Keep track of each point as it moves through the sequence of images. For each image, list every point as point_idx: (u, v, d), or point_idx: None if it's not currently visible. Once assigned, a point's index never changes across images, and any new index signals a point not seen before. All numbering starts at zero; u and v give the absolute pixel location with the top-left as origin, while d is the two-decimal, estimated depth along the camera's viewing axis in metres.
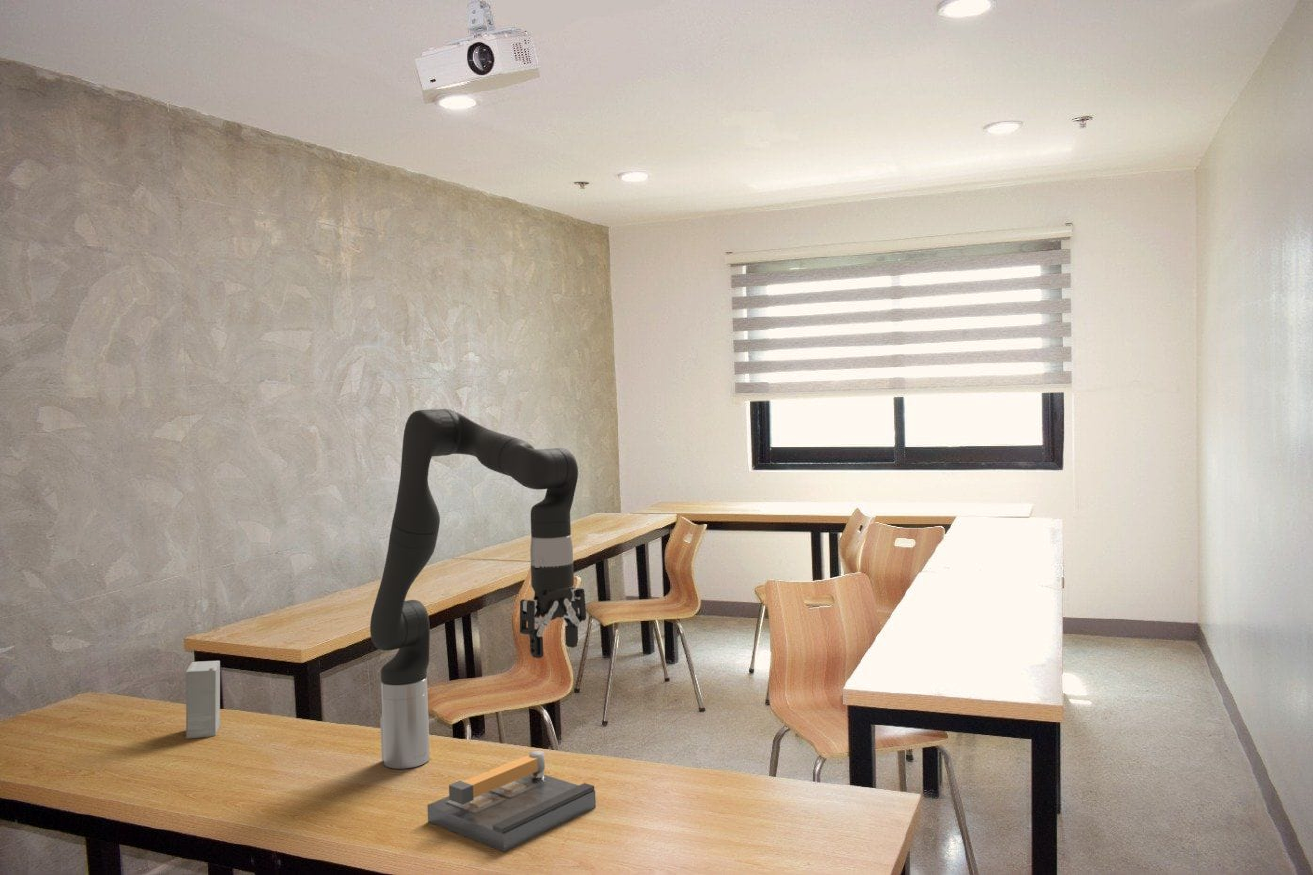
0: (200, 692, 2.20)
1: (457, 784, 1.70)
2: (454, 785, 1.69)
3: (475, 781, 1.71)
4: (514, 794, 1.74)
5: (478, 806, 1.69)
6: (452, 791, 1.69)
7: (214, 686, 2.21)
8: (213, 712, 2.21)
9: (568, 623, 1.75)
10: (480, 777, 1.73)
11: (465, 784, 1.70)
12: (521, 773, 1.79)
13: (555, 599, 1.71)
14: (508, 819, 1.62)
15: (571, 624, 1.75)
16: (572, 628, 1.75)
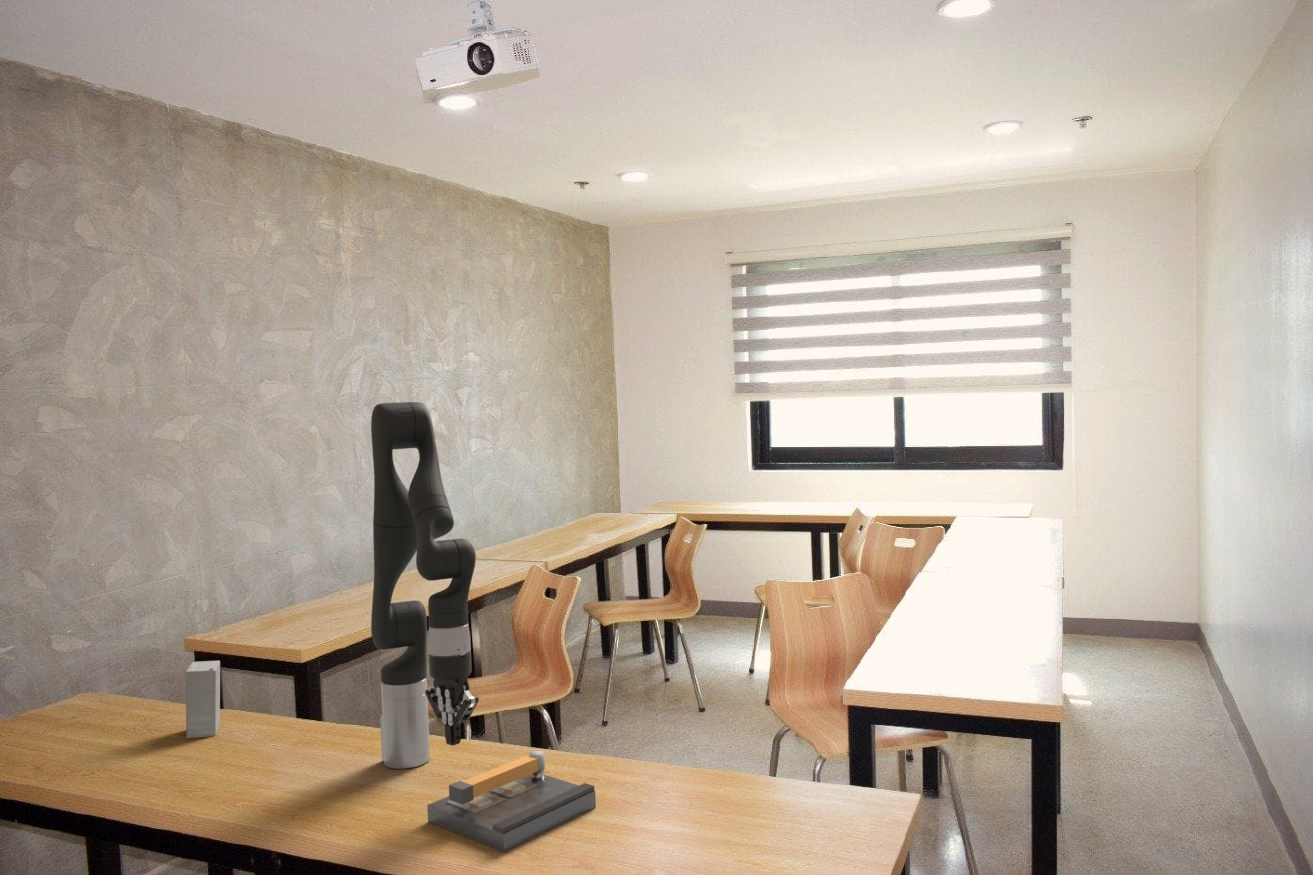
0: (200, 692, 2.20)
1: (457, 784, 1.70)
2: (454, 785, 1.69)
3: (475, 781, 1.71)
4: (514, 794, 1.74)
5: (478, 806, 1.69)
6: (452, 791, 1.69)
7: (214, 686, 2.21)
8: (213, 712, 2.21)
9: None
10: (480, 777, 1.73)
11: (465, 784, 1.70)
12: (521, 773, 1.79)
13: None
14: (508, 819, 1.62)
15: None
16: None
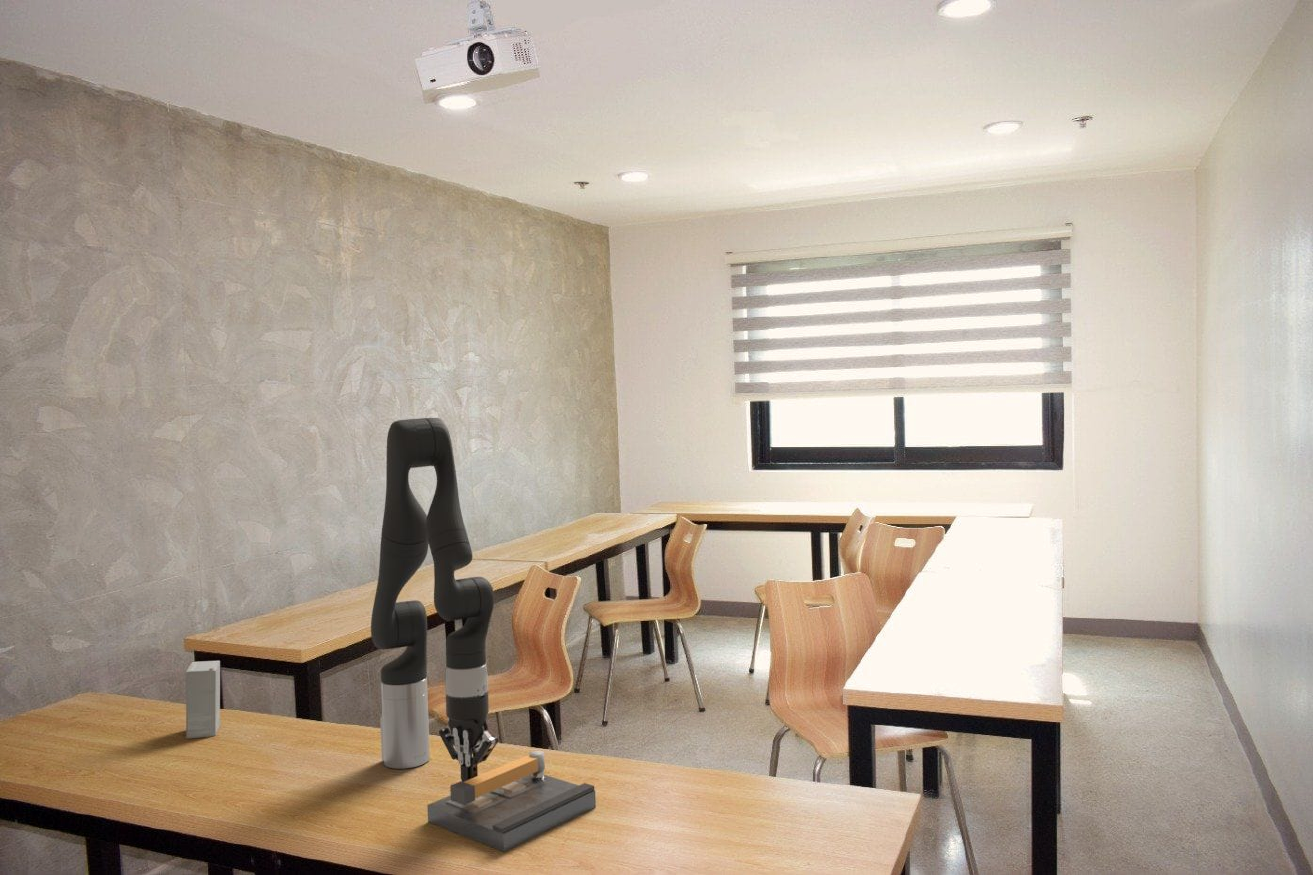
0: (200, 692, 2.20)
1: (458, 785, 1.69)
2: (455, 786, 1.69)
3: (476, 781, 1.71)
4: (514, 794, 1.74)
5: (478, 806, 1.69)
6: (454, 792, 1.69)
7: (214, 686, 2.21)
8: (213, 712, 2.21)
9: None
10: (481, 778, 1.73)
11: (466, 784, 1.69)
12: (522, 773, 1.78)
13: None
14: (508, 819, 1.62)
15: None
16: None
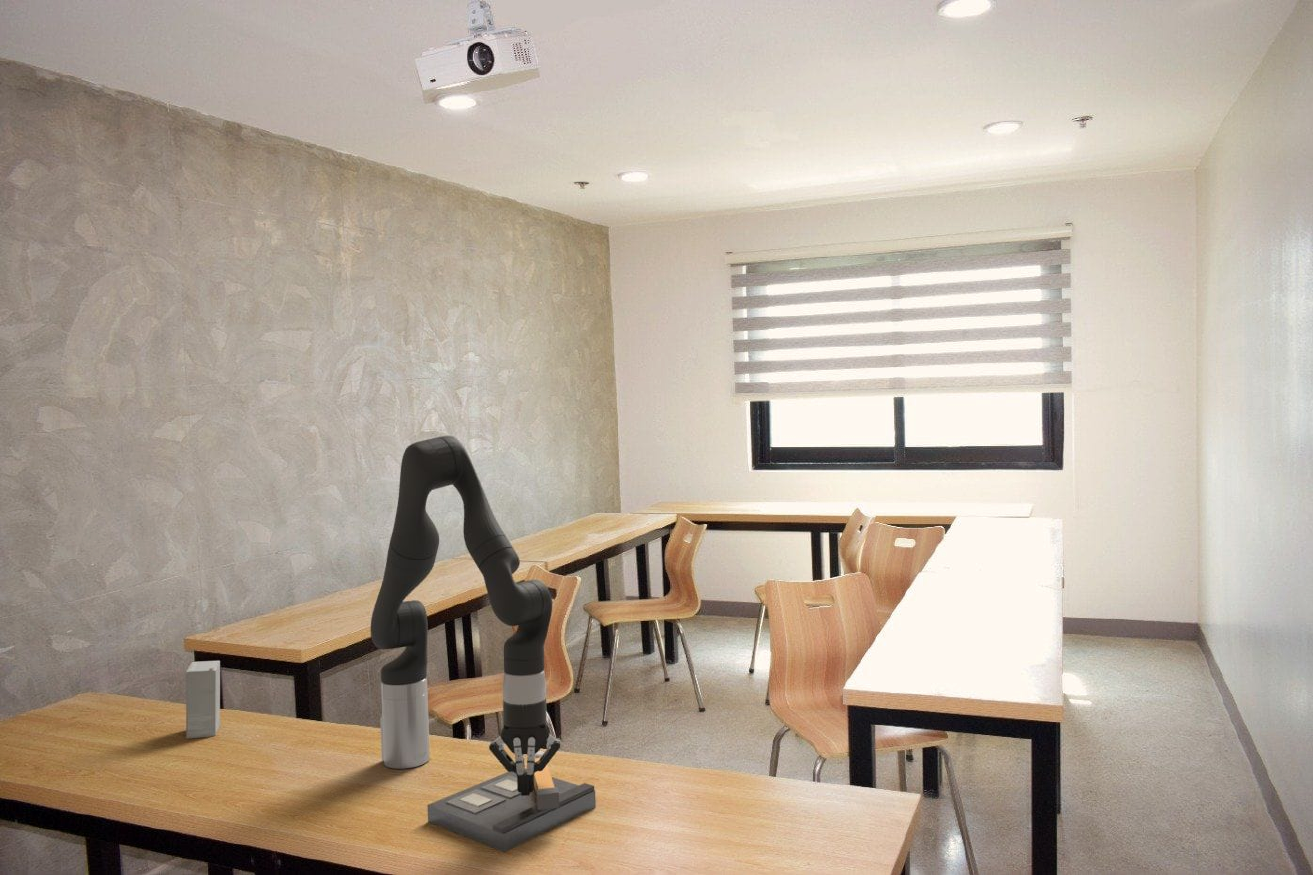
0: (200, 692, 2.20)
1: (543, 791, 1.65)
2: (543, 793, 1.65)
3: (548, 784, 1.69)
4: (514, 794, 1.74)
5: (478, 806, 1.69)
6: (543, 799, 1.64)
7: (214, 686, 2.21)
8: (213, 712, 2.21)
9: (524, 771, 1.69)
10: (543, 781, 1.70)
11: (549, 789, 1.66)
12: None
13: None
14: (508, 819, 1.62)
15: (524, 770, 1.70)
16: (525, 772, 1.70)
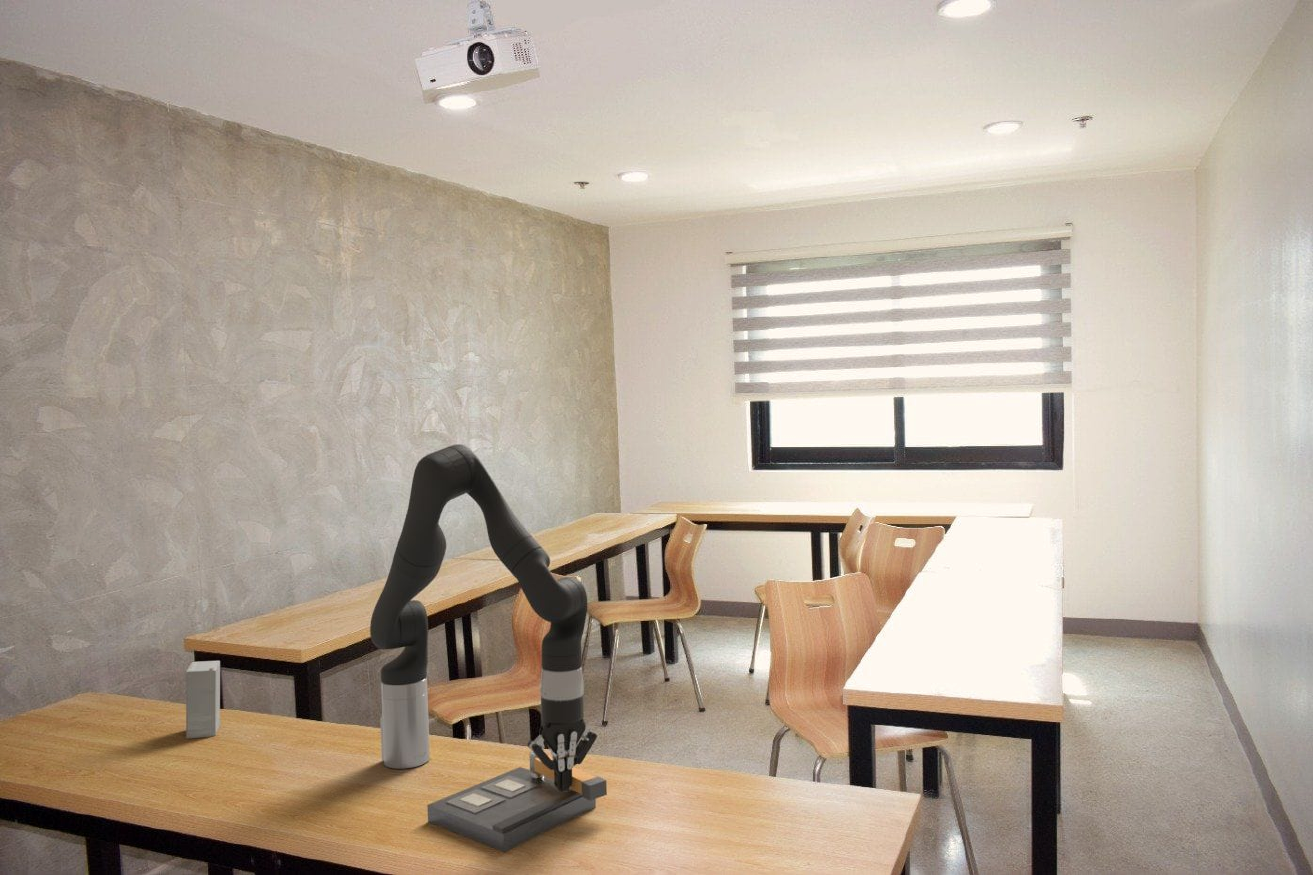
0: (200, 692, 2.20)
1: (591, 782, 1.69)
2: (592, 783, 1.68)
3: (586, 776, 1.72)
4: (514, 794, 1.74)
5: (478, 806, 1.69)
6: (594, 789, 1.68)
7: (214, 686, 2.21)
8: (213, 712, 2.21)
9: None
10: (578, 774, 1.73)
11: (593, 779, 1.70)
12: None
13: None
14: (508, 819, 1.62)
15: None
16: None
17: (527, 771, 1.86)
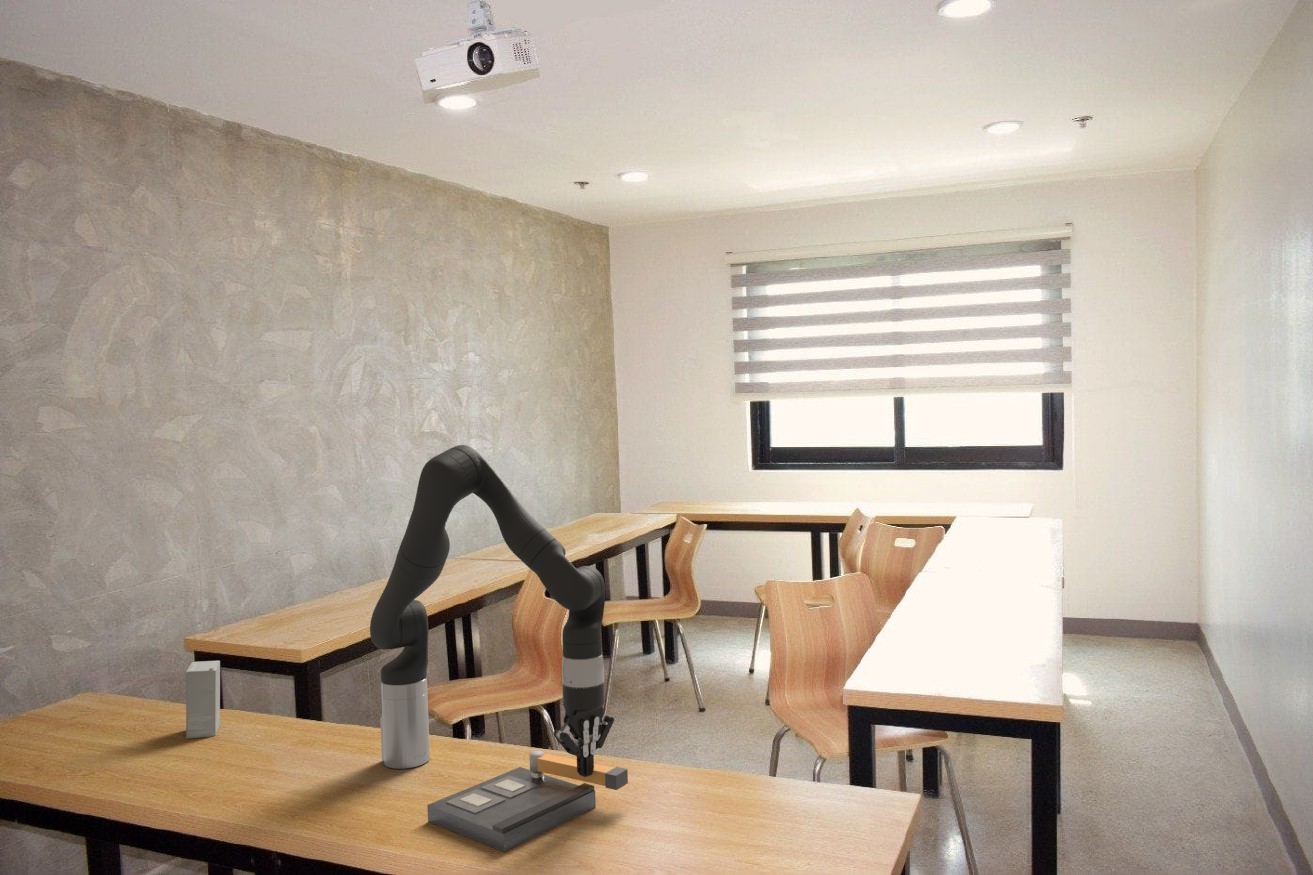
0: (200, 692, 2.20)
1: (615, 772, 1.73)
2: (617, 773, 1.73)
3: (604, 768, 1.76)
4: (514, 794, 1.74)
5: (478, 806, 1.69)
6: (619, 779, 1.72)
7: (214, 686, 2.21)
8: (213, 712, 2.21)
9: None
10: (595, 767, 1.76)
11: (614, 769, 1.74)
12: None
13: None
14: (508, 819, 1.62)
15: None
16: None
17: (527, 771, 1.86)
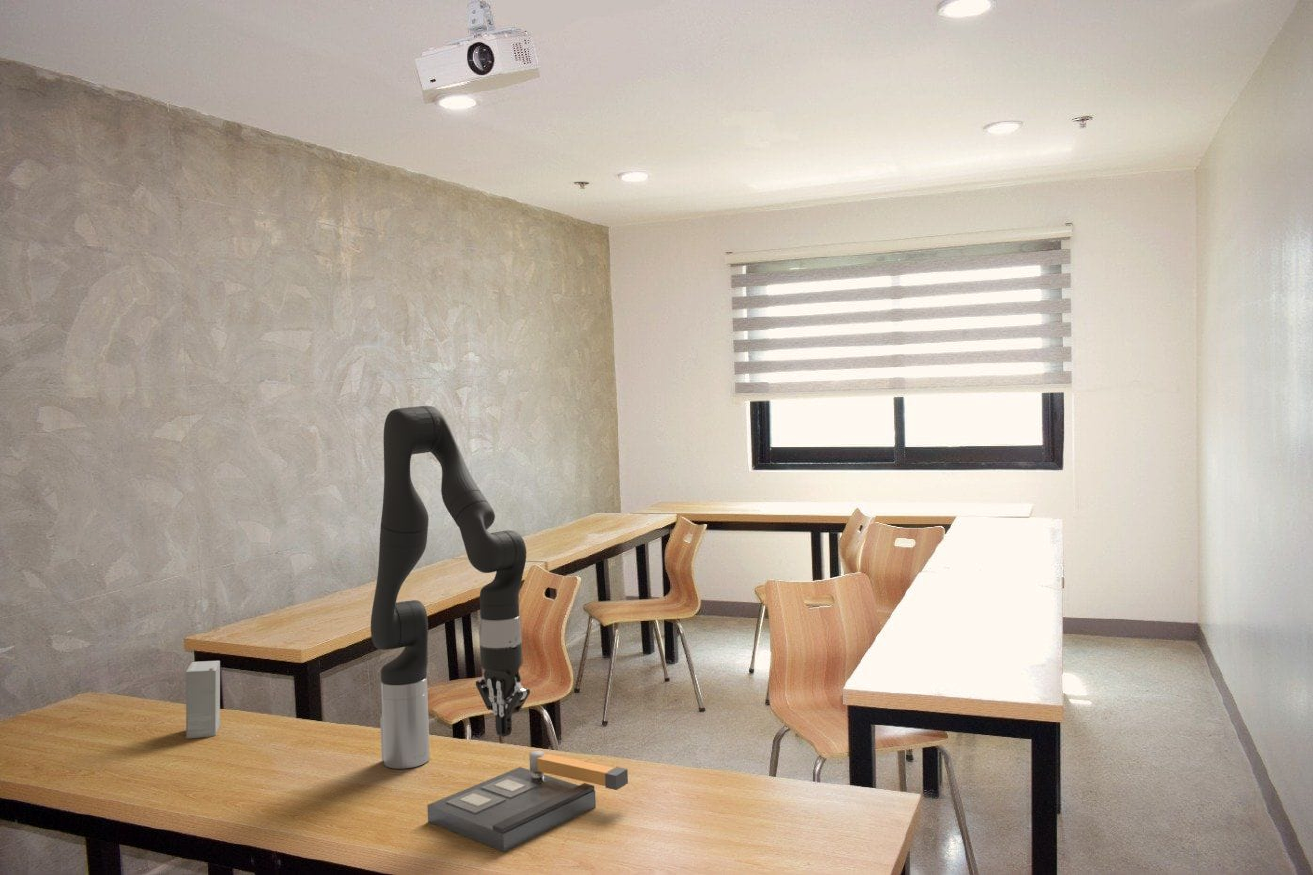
0: (200, 692, 2.20)
1: (615, 772, 1.73)
2: (617, 773, 1.73)
3: (604, 768, 1.76)
4: (514, 794, 1.74)
5: (478, 806, 1.69)
6: (619, 779, 1.72)
7: (214, 686, 2.21)
8: (213, 712, 2.21)
9: None
10: (595, 767, 1.76)
11: (614, 769, 1.74)
12: None
13: None
14: (508, 819, 1.62)
15: None
16: None
17: (527, 771, 1.86)
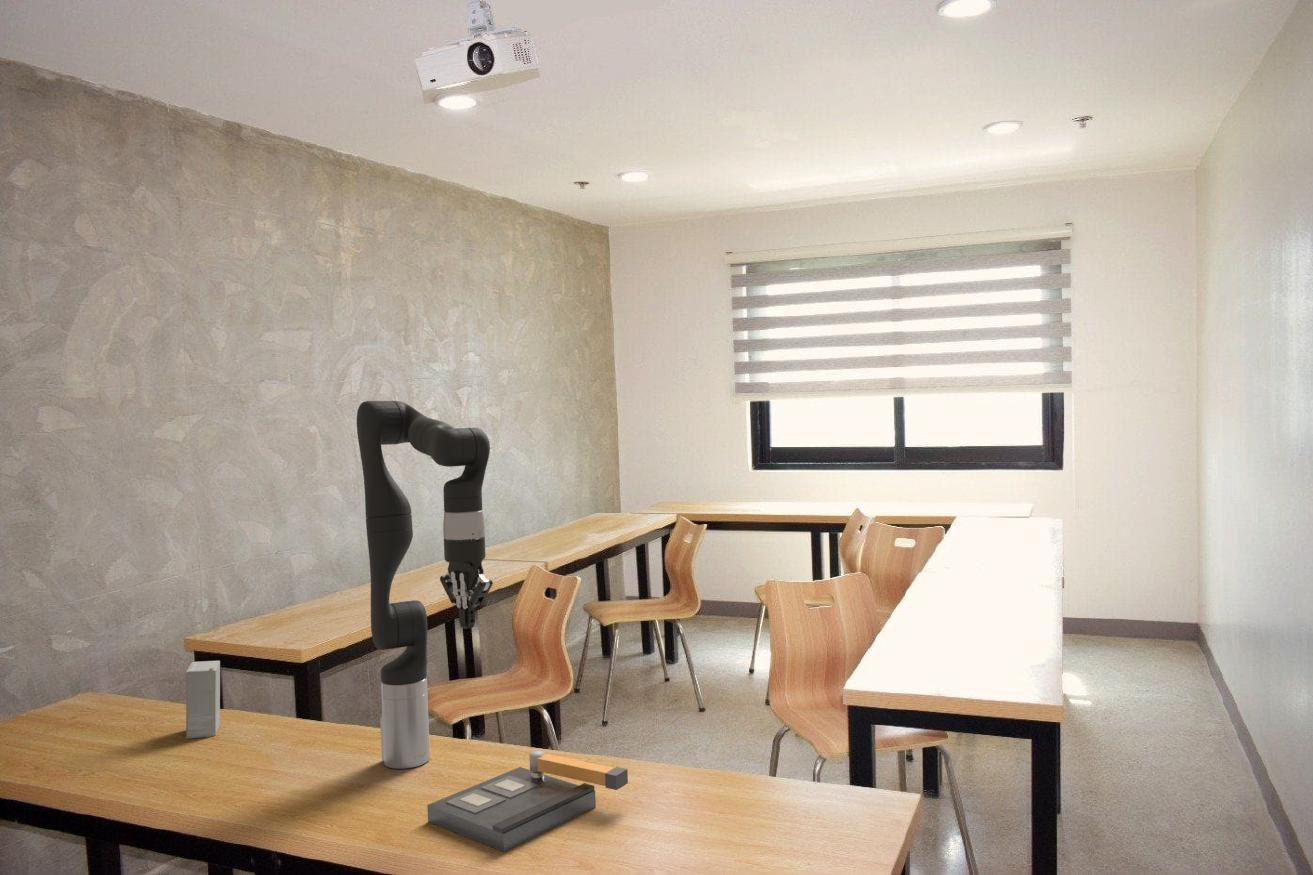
0: (200, 692, 2.20)
1: (615, 772, 1.73)
2: (617, 773, 1.73)
3: (604, 768, 1.76)
4: (514, 794, 1.74)
5: (478, 806, 1.69)
6: (619, 779, 1.72)
7: (214, 686, 2.21)
8: (213, 712, 2.21)
9: None
10: (595, 767, 1.76)
11: (614, 769, 1.74)
12: None
13: None
14: (508, 819, 1.62)
15: None
16: None
17: (527, 771, 1.86)
